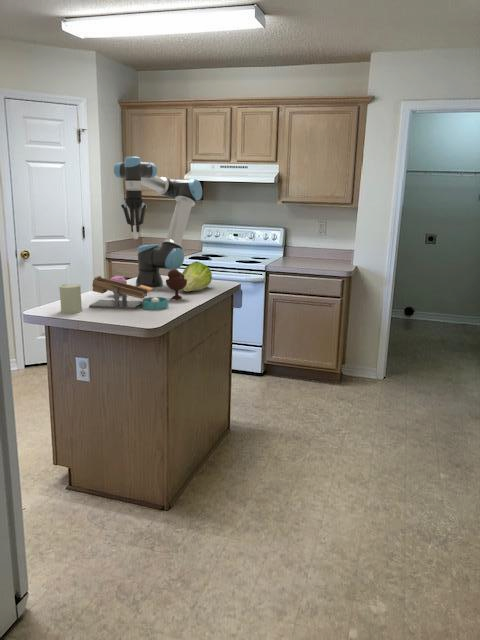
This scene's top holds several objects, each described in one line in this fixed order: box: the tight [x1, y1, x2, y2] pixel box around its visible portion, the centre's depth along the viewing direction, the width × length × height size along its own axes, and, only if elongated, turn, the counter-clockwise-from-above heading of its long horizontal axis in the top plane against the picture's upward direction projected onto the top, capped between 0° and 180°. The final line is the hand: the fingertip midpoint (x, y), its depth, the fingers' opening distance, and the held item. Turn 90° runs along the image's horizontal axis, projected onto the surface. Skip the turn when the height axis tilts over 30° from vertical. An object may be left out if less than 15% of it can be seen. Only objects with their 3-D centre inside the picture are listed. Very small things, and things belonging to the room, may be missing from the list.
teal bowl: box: [141, 296, 169, 311], centre depth 239 cm, size 12×12×4 cm
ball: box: [151, 296, 159, 302], centre depth 239 cm, size 4×4×4 cm
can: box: [58, 283, 83, 314], centre depth 229 cm, size 9×9×12 cm
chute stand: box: [88, 287, 143, 310], centre depth 240 cm, size 13×22×10 cm, turn 83°
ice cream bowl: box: [165, 269, 187, 301], centre depth 256 cm, size 11×11×15 cm
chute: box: [91, 275, 154, 300], centre depth 244 cm, size 17×24×6 cm
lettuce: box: [181, 260, 213, 292], centre depth 279 cm, size 15×24×16 cm
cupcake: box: [109, 275, 128, 296], centre depth 264 cm, size 9×9×10 cm
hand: (135, 238), depth 255 cm, fingers closed
